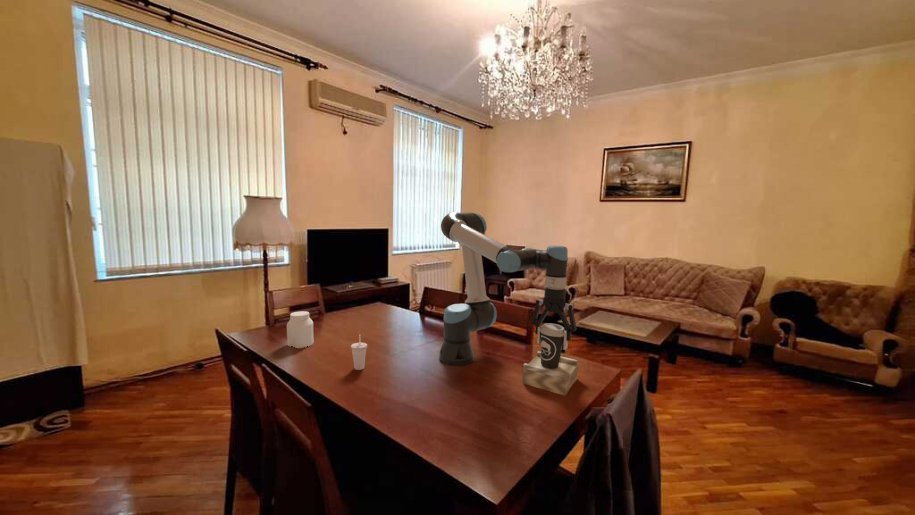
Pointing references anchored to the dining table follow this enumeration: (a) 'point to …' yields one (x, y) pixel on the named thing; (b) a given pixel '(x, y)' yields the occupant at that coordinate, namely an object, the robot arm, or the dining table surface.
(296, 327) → the jar
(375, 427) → the dining table surface
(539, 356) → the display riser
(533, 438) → the dining table surface
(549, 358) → the coffee cup
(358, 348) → the smoothie
